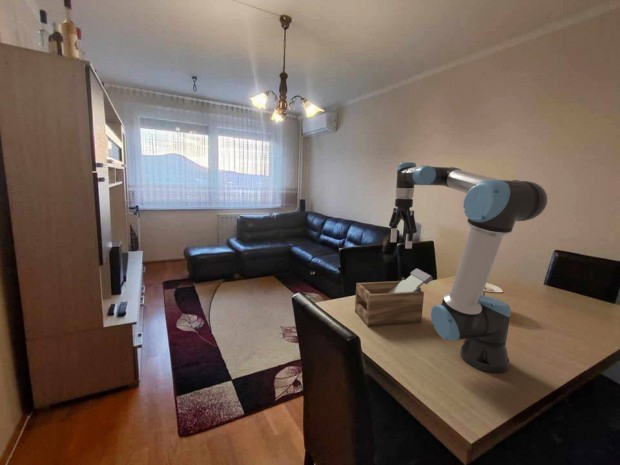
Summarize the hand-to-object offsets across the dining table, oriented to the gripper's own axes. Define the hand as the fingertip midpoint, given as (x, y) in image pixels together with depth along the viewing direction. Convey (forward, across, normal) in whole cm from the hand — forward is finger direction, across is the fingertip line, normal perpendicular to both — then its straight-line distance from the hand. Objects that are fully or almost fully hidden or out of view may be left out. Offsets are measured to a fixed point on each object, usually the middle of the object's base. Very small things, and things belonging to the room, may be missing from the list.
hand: (400, 245), depth 133 cm
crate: (+35, 0, +4) cm, 35 cm away
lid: (+20, 0, -7) cm, 21 cm away
